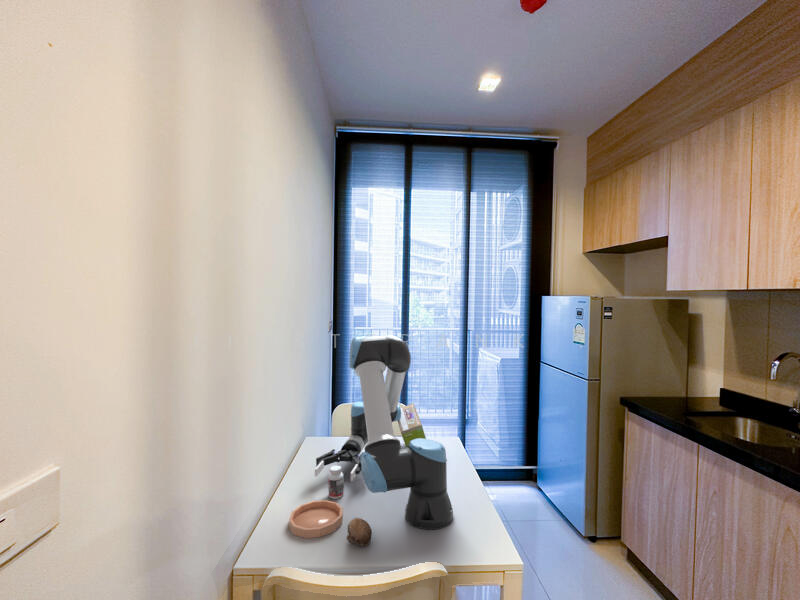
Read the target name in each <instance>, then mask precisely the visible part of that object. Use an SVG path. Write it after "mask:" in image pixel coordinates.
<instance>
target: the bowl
mask: <svg viewBox="0 0 800 600" xmlns="http://www.w3.org/2000/svg"><path fill="white" fill-rule="evenodd" d="M343 510H344V509H343V506H341V505H340V504H339V503H338V502H335V501H331V500H327V499H324V500H323V499H322V500H312V501H309V502H306V503H303V504H300V505H299V506H297V507H296V508H295V509H294V510H292V511H291V513H290V515H289V519H288V527H289V529H290V531H291V533H292V534H293V535H295V536H298V537H301V538H304V539H309V538H310V539H311V538H321V537H325V536H327V535H328V534H331V533H334V532H335V531H336V530H337V529H338V528H339V527H340V526H341V525H342V524H343V519H344V518H343V517H344V511H343Z"/></svg>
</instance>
